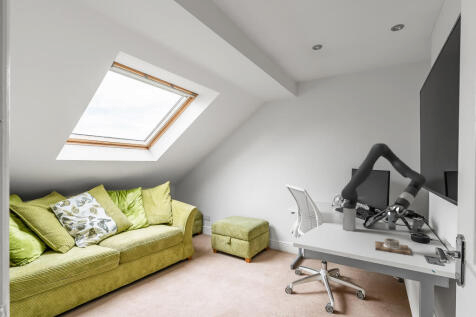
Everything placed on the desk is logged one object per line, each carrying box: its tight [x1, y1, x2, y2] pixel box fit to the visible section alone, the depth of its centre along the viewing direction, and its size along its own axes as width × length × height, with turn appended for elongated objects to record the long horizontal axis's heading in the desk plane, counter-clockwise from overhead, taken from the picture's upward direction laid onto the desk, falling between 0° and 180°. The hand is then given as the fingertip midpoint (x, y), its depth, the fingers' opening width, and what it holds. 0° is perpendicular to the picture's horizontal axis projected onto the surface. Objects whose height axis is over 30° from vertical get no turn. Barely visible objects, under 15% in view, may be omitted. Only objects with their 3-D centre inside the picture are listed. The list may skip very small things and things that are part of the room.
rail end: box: [387, 209, 397, 231], centre depth 154 cm, size 5×5×12 cm
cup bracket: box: [374, 237, 412, 256], centre depth 154 cm, size 18×14×6 cm
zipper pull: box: [408, 219, 426, 235], centre depth 193 cm, size 9×7×25 cm
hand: (389, 221), depth 154 cm, fingers closed on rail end, 4 cm apart
